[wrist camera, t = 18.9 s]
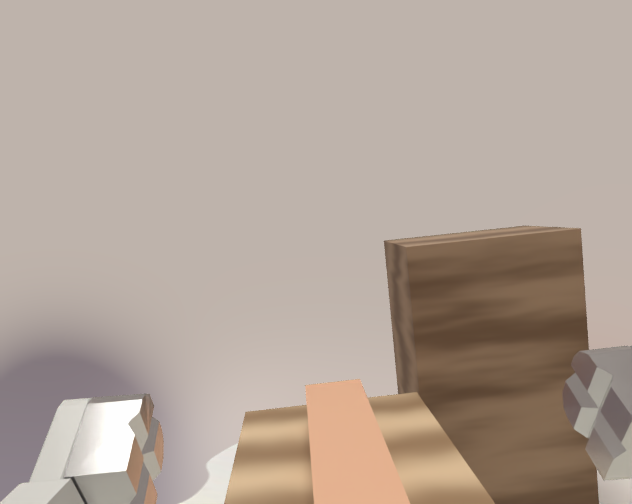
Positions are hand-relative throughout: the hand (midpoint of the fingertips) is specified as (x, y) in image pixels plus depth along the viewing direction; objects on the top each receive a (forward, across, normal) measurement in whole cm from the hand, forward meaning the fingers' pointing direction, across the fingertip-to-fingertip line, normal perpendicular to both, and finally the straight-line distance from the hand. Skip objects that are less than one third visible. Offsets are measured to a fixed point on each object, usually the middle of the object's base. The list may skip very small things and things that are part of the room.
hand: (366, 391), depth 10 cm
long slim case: (+9, -1, +19) cm, 22 cm away
